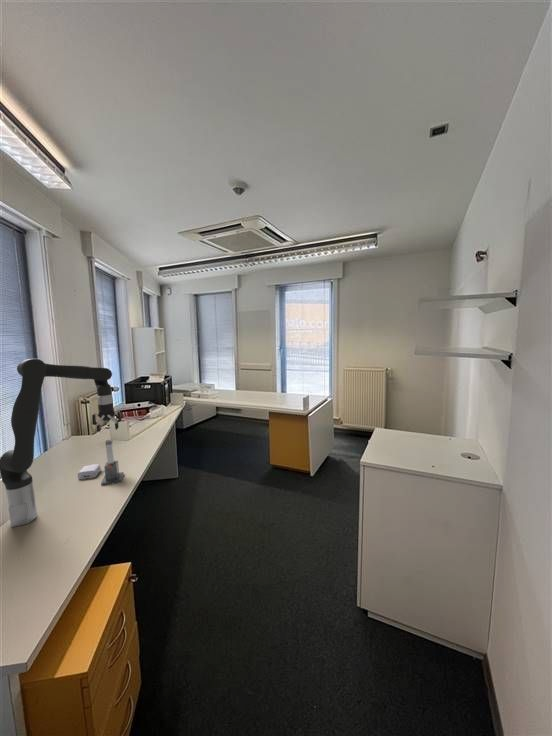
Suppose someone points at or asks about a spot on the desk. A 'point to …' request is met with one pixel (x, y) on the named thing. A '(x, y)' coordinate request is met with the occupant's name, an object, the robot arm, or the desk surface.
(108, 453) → the column
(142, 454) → the desk surface
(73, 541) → the desk surface
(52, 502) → the desk surface
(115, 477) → the stand
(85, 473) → the charger
